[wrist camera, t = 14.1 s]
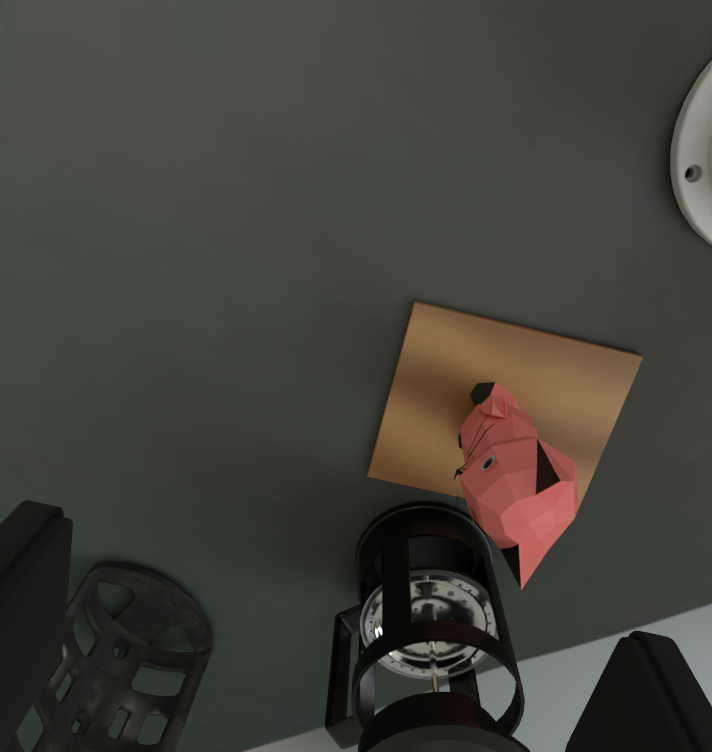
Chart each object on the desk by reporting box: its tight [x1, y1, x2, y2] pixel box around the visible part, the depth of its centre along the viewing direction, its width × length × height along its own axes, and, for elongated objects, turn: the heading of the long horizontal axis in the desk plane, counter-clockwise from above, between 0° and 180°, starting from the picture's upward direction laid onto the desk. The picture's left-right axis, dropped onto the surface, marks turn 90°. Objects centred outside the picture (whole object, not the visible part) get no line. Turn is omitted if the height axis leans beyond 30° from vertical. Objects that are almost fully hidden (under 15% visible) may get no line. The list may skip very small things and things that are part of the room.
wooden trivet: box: [367, 301, 643, 522], centre depth 40 cm, size 12×14×1 cm
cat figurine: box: [454, 382, 579, 590], centre depth 34 cm, size 7×7×12 cm
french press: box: [325, 502, 530, 752], centre depth 34 cm, size 12×9×23 cm
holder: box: [4, 562, 214, 752], centre depth 38 cm, size 11×8×20 cm
